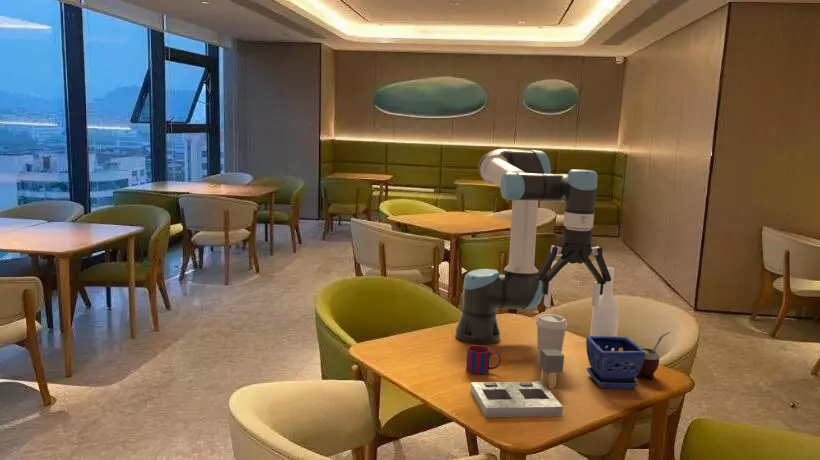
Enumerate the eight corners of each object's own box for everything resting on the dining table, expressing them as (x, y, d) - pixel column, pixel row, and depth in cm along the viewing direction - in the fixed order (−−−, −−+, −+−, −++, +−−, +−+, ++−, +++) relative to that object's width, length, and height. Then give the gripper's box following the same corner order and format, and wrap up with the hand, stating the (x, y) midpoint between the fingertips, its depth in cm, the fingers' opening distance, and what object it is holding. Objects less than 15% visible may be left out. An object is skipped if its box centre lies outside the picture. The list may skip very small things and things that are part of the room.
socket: (470, 391, 175) (471, 381, 174) (540, 390, 178) (541, 380, 177) (485, 417, 159) (486, 406, 159) (562, 416, 162) (563, 405, 162)
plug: (538, 381, 184) (540, 349, 183) (554, 380, 185) (557, 349, 184) (544, 388, 179) (547, 355, 178) (561, 387, 180) (564, 355, 179)
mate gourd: (627, 373, 194) (632, 325, 191) (648, 371, 196) (653, 323, 194) (644, 382, 187) (649, 333, 184) (665, 380, 190) (671, 331, 187)
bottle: (599, 365, 199) (608, 271, 194) (582, 356, 206) (591, 265, 201) (619, 363, 202) (629, 270, 197) (602, 354, 209) (611, 264, 205)
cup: (469, 365, 194) (470, 343, 193) (501, 370, 191) (503, 348, 190) (463, 372, 188) (465, 350, 187) (497, 378, 185) (498, 355, 184)
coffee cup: (564, 372, 192) (568, 324, 190) (532, 368, 194) (536, 320, 191) (563, 361, 201) (567, 315, 199) (532, 357, 203) (536, 312, 201)
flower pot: (643, 392, 180) (647, 351, 178) (597, 391, 179) (601, 350, 177) (624, 374, 193) (628, 336, 191) (581, 373, 192) (584, 335, 190)
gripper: (537, 229, 164) (531, 309, 167) (629, 231, 167) (621, 310, 171) (528, 225, 171) (522, 302, 174) (615, 227, 175) (608, 302, 178)
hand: (571, 306), depth 173 cm, fingers open, 13 cm apart
